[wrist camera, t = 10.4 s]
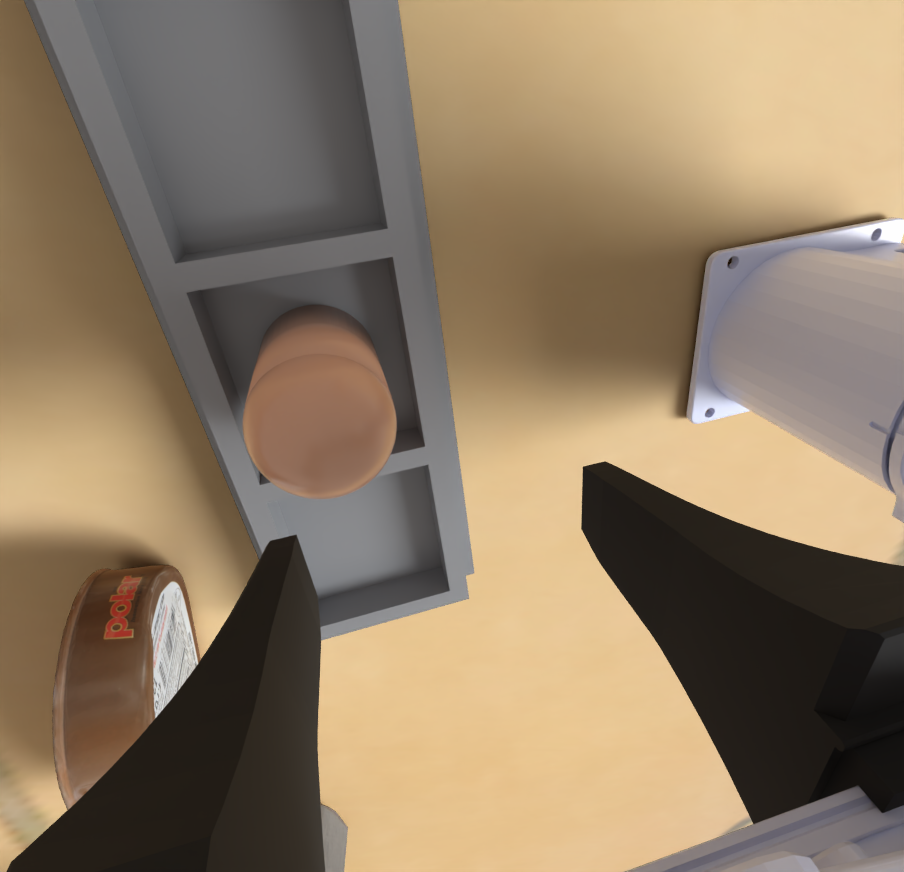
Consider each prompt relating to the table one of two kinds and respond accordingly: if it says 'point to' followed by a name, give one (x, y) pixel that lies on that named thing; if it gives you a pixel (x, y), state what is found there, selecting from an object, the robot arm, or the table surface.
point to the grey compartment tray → (281, 250)
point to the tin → (117, 668)
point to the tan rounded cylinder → (318, 405)
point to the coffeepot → (333, 840)
